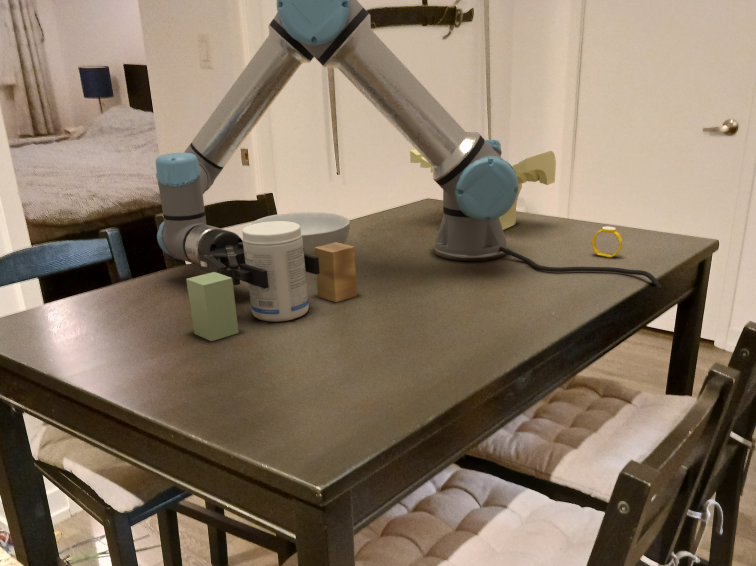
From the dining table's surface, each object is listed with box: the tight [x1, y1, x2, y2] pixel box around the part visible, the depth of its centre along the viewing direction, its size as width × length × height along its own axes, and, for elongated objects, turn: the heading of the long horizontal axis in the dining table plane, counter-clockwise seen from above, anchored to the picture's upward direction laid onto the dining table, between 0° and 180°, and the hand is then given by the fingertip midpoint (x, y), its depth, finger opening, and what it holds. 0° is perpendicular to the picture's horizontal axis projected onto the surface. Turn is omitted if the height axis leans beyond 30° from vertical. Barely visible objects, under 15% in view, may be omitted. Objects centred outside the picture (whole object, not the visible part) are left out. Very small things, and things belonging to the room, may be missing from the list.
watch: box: [591, 225, 623, 259], centre depth 156 cm, size 6×3×6 cm, turn 59°
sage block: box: [185, 272, 239, 342], centre depth 118 cm, size 5×5×9 cm
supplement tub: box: [241, 221, 310, 323], centre depth 125 cm, size 10×10×15 cm
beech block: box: [314, 242, 358, 303], centre depth 134 cm, size 5×5×9 cm
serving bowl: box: [250, 211, 351, 257], centre depth 162 cm, size 21×21×7 cm
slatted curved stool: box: [409, 148, 557, 231], centre depth 181 cm, size 30×16×18 cm, turn 57°
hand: (292, 272), depth 122 cm, fingers closed on supplement tub, 9 cm apart
